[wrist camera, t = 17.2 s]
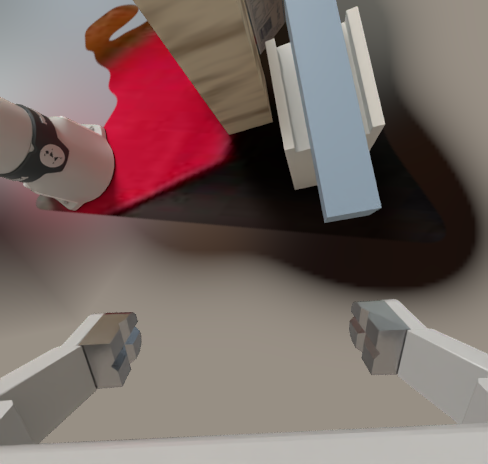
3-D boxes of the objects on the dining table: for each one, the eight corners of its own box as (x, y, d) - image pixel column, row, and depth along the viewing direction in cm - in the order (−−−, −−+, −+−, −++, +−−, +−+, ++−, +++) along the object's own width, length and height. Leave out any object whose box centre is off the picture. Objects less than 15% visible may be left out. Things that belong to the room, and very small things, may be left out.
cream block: (353, 177, 37) (385, 124, 21) (295, 190, 39) (284, 150, 24) (338, 105, 38) (357, 6, 23) (282, 121, 41) (264, 41, 25)
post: (272, 122, 41) (213, -78, 16) (229, 134, 43) (115, -25, 18) (265, 79, 42) (198, -172, 17) (222, 94, 44) (106, -111, 19)
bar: (369, 215, 22) (381, 207, 18) (324, 223, 23) (327, 217, 19) (324, 7, 25) (327, -38, 21) (286, 22, 26) (281, -18, 22)
